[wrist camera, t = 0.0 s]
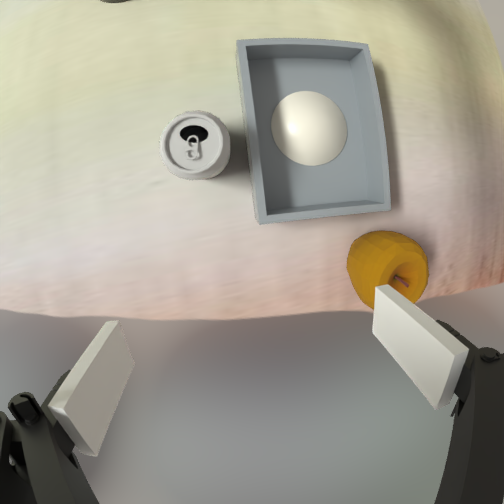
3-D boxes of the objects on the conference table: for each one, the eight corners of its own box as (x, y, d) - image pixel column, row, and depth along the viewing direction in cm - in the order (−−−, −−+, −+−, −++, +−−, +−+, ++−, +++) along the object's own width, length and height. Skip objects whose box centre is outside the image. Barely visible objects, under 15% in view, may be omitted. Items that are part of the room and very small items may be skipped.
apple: (318, 259, 43) (351, 292, 30) (364, 206, 41) (412, 220, 29) (361, 299, 45) (399, 338, 33) (403, 251, 43) (450, 276, 31)
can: (233, 129, 37) (235, 109, 25) (227, 182, 39) (225, 184, 27) (180, 124, 36) (160, 104, 25) (173, 177, 38) (150, 177, 26)
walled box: (235, 57, 34) (236, 40, 28) (351, 57, 35) (367, 44, 29) (255, 217, 40) (259, 224, 35) (371, 205, 41) (390, 210, 35)
